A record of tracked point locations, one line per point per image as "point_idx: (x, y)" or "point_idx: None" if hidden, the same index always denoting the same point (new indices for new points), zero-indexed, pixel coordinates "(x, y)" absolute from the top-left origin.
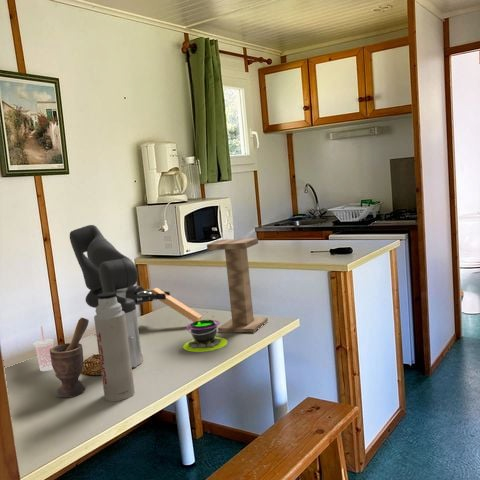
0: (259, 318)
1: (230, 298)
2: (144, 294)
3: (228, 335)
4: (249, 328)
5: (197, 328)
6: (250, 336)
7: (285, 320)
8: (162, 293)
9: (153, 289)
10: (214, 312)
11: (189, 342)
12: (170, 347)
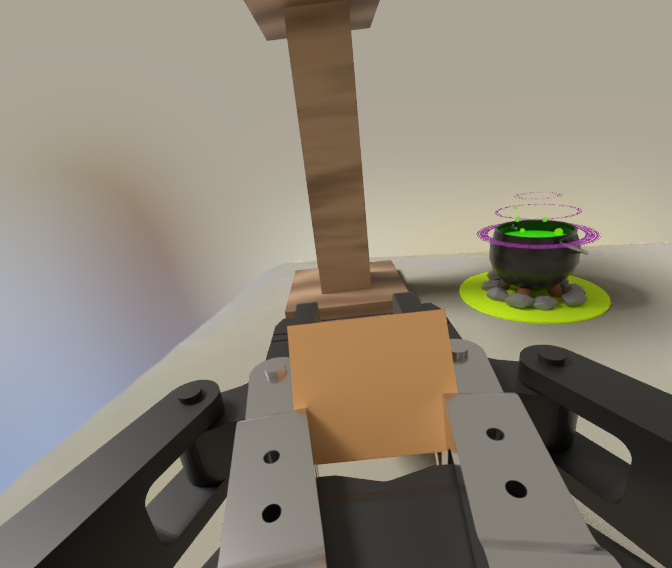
0: (300, 276)
1: (364, 204)
2: (627, 550)
3: (429, 289)
4: (389, 264)
5: (571, 230)
6: (416, 267)
7: (286, 268)
8: (398, 304)
9: (433, 310)
10: (110, 429)
11: (578, 295)
12: (649, 337)
